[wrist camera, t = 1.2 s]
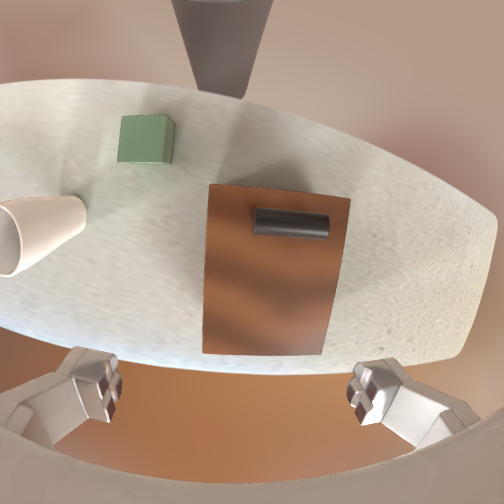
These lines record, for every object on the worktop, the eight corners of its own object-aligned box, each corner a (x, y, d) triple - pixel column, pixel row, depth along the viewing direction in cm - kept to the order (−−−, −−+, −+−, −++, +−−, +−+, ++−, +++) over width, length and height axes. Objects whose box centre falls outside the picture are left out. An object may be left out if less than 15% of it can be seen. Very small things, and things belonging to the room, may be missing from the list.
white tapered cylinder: (49, 196, 30) (-27, 213, 16) (88, 183, 30) (14, 193, 16) (59, 244, 32) (-10, 282, 17) (98, 235, 32) (32, 273, 18)
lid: (209, 183, 24) (205, 185, 18) (347, 198, 25) (375, 204, 20) (202, 349, 28) (199, 382, 23) (319, 350, 29) (334, 380, 24)
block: (135, 123, 29) (121, 116, 24) (175, 123, 30) (167, 114, 25) (131, 163, 30) (117, 162, 26) (171, 164, 31) (162, 162, 26)
